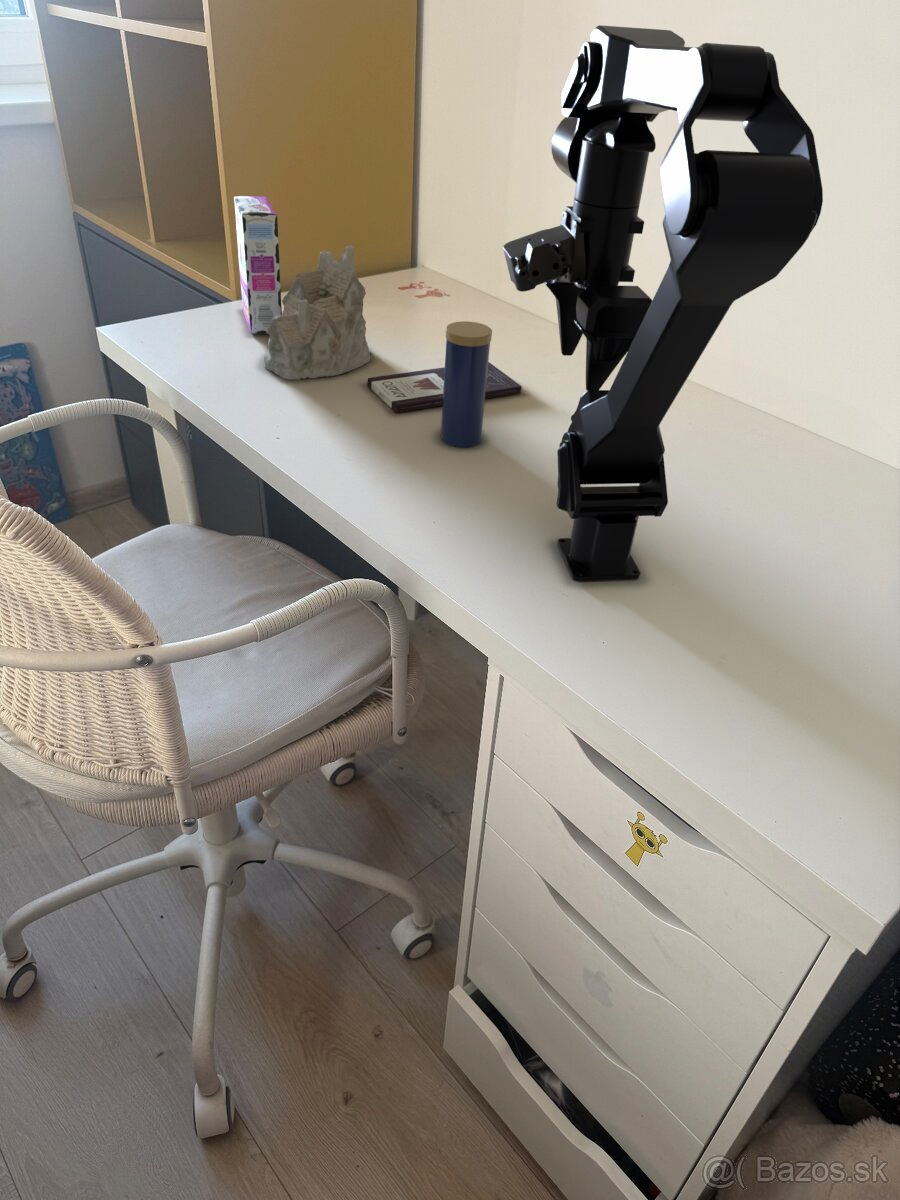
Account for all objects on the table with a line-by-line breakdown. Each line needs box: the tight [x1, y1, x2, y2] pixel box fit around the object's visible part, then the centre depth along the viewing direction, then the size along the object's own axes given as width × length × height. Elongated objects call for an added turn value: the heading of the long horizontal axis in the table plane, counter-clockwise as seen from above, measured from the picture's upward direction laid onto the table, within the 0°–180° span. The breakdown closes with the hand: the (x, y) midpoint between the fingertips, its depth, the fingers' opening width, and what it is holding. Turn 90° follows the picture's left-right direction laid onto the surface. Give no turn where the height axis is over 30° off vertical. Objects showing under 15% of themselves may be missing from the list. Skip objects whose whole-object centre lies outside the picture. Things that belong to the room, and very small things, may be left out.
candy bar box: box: [233, 195, 283, 335], centre depth 119 cm, size 11×5×16 cm, turn 17°
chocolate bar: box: [367, 361, 522, 414], centre depth 108 cm, size 9×1×18 cm
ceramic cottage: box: [263, 245, 371, 381], centre depth 111 cm, size 16×16×15 cm
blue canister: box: [440, 320, 493, 449], centre depth 94 cm, size 5×5×13 cm
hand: (578, 372), depth 82 cm, fingers open, 9 cm apart
